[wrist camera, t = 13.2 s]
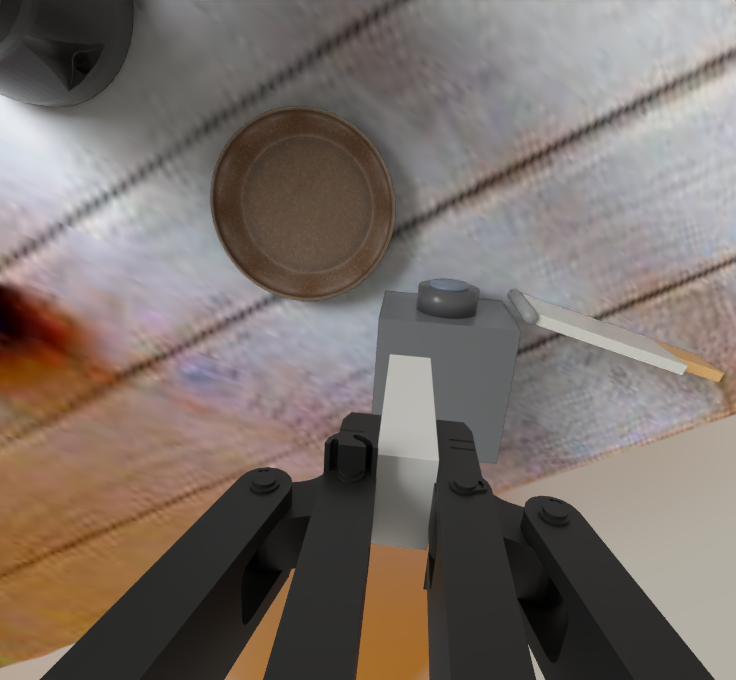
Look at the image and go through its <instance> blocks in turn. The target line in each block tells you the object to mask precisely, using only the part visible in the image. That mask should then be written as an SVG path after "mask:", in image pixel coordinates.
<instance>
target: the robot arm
mask: <svg viewBox="0 0 736 680" xmlns="http://www.w3.org/2000/svg"><path fill="white" fill-rule="evenodd" d="M132 25H133V1H132V0H0V94H1V95H3V96H6V97H8V98H11V99H14V100H17V101H21V102H25V103H31V104H37V105H43V106H51V107H63V106H71V105H75V104H79V103H81V102H84V101H86V100H88V99H90V98H92V97H94V96H95V95H97V94H98V93H100V92H101V91H102V90H103V89H104V88H105V87H106V86H107V85H108V84H109V83H110V82H111V81H112V80H113V78H114V77H115V76H116V74H117V73H118V71H119V69H120V67H121V66H122V63H123V61H124V59H125V56H126V54H127V51H128V47H129V44H130V39H131V34H132ZM428 539H429V552H428V559H427V567H426V574H425V582H424V588H423V589H426V590H427V600H428V636H429V676H430V680H536V677H535V673H534V669H533V665H532V660H531V656H530V651H529V647H530V649H531V651H532V653H533V655H534V657H535V659H536V661H537V663H538V665H539V667H540V669H541V671H542V673H543V675H544V678H545V680H714V678H713V677H712V676H711V674H710V673H709V672H708V671H707V669H706V668H705V667H704V666H703V664H702V663H701V662H700V661H699V660H698V658H697V657H696V656H695V655H694V653H693V652H692V651H691V650H690V648H689V647H688V646H687V645H686V643H685V642H684V641H683V640H682V638H681V637H680V636H679V635H678V633H677V632H676V631H675V630H674V629H673V627H672V626H671V625H670V624H669V622H668V621H667V620H666V619H665V617H664V616H663V615H662V614H661V612H660V611H659V610H658V609H657V608H656V606H655V605H654V604H653V603H652V601H651V600H650V599H649V598H648V596H647V595H646V594H645V593H644V592H643V590H642V589H641V588H640V586H639V585H638V584H637V583H636V582H635V580H634V579H633V578H632V577H631V575H630V574H629V573H628V572H627V571H626V570H625V568H624V567H623V565H622V564H621V563H620V562H619V560H618V559H617V558H616V557H615V556H614V554H613V553H612V552H611V551H610V549H609V548H608V547H607V546H606V544H605V543H604V542H603V541H602V540H601V538H600V537H599V536H598V535H597V533H596V532H595V531H594V530H593V528H592V527H591V526H590V525H589V523H588V522H587V521H586V520H585V518H584V517H583V516H582V515H581V514H580V512H578V511H577V510H576V509H575V508H574V507H573V506H571V505H570V504H568V503H566V502H564V501H563V500H560V499H557V498H553V497H549V496H537V497H532V498H530V499H529V500H528V501H526V503H525V507H521V506H518V505H515V504H512V503H509V502H507V501H504V500H502V499H500V498H498V497H497V496H495V495H494V494H493V493H492V489H491V487H490V485H489V483H488V482H487V481H486V480H484V479H483V478H482V475H481V470H480V466H479V461H478V456H477V452H476V447H475V443H474V438H473V433H472V431H471V430H470V429H469V428H468V427H467V425H466V424H465V423H464V422H456V421H446V420H436V418H435V406H434V394H433V382H432V370H431V358H425V357H414V356H403V355H393V354H390V357H389V365H388V373H387V380H386V388H385V396H384V403H383V411H382V415H375V414H365V413H355V412H351V413H350V414H349V415H348V416H347V417H345V418H344V419H343V421H342V425H341V428H340V432H339V433H337V434H334V435H333V436H331V437H329V438H328V439H327V441H326V442H325V454H324V473H323V475H321V476H319V477H318V478H315V479H312V480H308V481H302V482H293V483H292V480H291V477H290V476H289V475H288V474H287V473H286V472H284V471H282V470H280V469H277V468H269V467H266V468H257V469H254V470H251V471H249V472H247V473H245V474H244V475H243V476H241V477H240V478H239V479H238V480H237V481H236V482H235V483H234V484H233V485H232V486H231V487H230V488H229V489H228V490H227V491H226V492H225V493H224V494H223V495H222V496H221V497H220V498H219V499H218V500H217V501H216V502H215V503H214V504H213V505H212V506H211V507H210V508H209V509H208V510H207V511H206V512H205V513H204V514H203V515H202V516H201V517H200V518H199V519H198V520H197V521H196V522H195V523H194V524H193V525H192V526H191V527H190V528H189V529H188V531H187V532H186V533H185V534H184V535H183V536H182V537H181V538H180V539H179V540H178V541H177V542H176V543H175V544H174V545H173V546H172V547H171V548H170V549H169V550H168V551H167V552H166V553H165V554H164V555H163V556H162V557H161V558H160V559H159V560H158V561H157V562H156V563H155V564H154V565H153V566H152V567H151V568H150V569H149V570H148V571H147V572H146V573H145V574H144V575H143V576H142V577H141V578H140V579H139V580H138V581H137V582H136V583H135V584H134V585H133V586H132V587H131V588H130V589H129V590H128V591H127V592H126V593H125V594H124V595H123V596H122V597H121V598H120V599H119V600H118V601H117V602H116V603H115V604H114V605H113V606H112V607H111V608H110V609H109V610H108V611H107V612H106V613H105V614H104V615H103V616H102V617H101V618H100V619H99V620H98V621H97V622H96V623H95V624H94V625H93V626H92V627H91V628H90V629H89V630H88V631H87V632H86V634H85V635H84V636H83V637H82V638H81V639H80V640H79V641H78V642H77V643H76V644H75V645H74V646H73V647H72V648H71V649H70V650H69V651H68V652H67V653H66V654H65V655H64V656H63V657H62V658H61V659H60V660H59V661H58V662H57V663H56V664H55V665H54V666H53V667H52V668H51V669H50V670H49V671H48V672H47V673H46V674H45V675H44V676H43V677H42V678H41V679H40V680H224V679H225V678H226V676H227V674H228V673H229V671H230V669H231V668H232V666H233V665H234V663H235V662H236V660H237V658H238V657H239V655H240V653H241V652H242V650H243V649H244V647H245V646H246V644H247V642H248V641H249V639H250V637H251V636H252V634H253V633H254V631H255V630H256V628H257V626H258V625H259V623H260V622H261V620H262V618H263V617H264V615H265V614H266V612H267V610H268V609H269V607H270V606H271V604H272V602H273V601H274V599H275V598H276V596H277V594H278V593H279V591H280V590H281V588H282V586H283V585H284V583H285V582H286V580H287V578H288V577H289V574H290V571H291V569H293V568H296V569H295V572H294V575H293V579H292V582H291V586H290V589H289V593H288V596H287V599H286V603H285V607H284V610H283V613H282V617H281V620H280V623H279V627H278V630H277V634H276V637H275V641H274V645H273V648H272V651H271V655H270V658H269V661H268V665H267V668H266V672H265V675H264V678H263V680H356V674H357V665H358V656H359V647H360V637H361V628H362V620H363V611H364V602H365V592H366V584H367V575H368V566H369V556H370V544H379V545H388V546H396V547H404V548H413V549H422V550H427V547H428ZM528 645H529V647H528Z"/></svg>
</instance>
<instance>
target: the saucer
mask: <svg viewBox="0 0 736 680" xmlns="http://www.w3.org/2000/svg"><path fill="white" fill-rule="evenodd" d="M210 202H211V213H212V218H213V223H214V227H215V230H216V233H217V235H218V238H219V240H220V242H221V244H222V246H223V248H224V250H225V252H226V253H227V255H228V256H229V258H230V259H231V261H232V262H233V263H234V265H235V266H236V267H237V268H238V269H239V270H240V271H241V272H242V273H243V274H244V275H245V276H246V277H247V278H248V279H250V280H251V281H252V282H253V283H255V284H256V285H258V286H259V287H261V288H263V289H264V290H266V291H268V292H270V293H273V294H275V295H278V296H281V297H284V298H288V299H293V300H302V301H316V300H322V299H327V298H331V297H335V296H337V295H340V294H343V293H345V292H347V291H349V290H351V289H352V288H354V287H356V286H357V285H358V284H360V283H361V282H362V281H363V280H365V279H366V278H367V277H368V276H369V275H370V274H371V272H372V271H373V270H374V269H375V268H376V267H377V265H378V264H379V262H380V261H381V259H382V258H383V256H384V254H385V252H386V250H387V248H388V245H389V242H390V240H391V237H392V233H393V229H394V223H395V196H394V190H393V185H392V182H391V178H390V175H389V172H388V169H387V167H386V165H385V163H384V161H383V159H382V157H381V155H380V154H379V152H378V150H377V149H376V147H375V146H374V145H373V143H372V142H371V141H370V140H369V139H368V138H367V137H366V136H365V135H364V134H363V133H362V132H361V131H360V130H359V129H358V128H357V127H355V126H354V125H353V124H351V123H350V122H348V121H347V120H345V119H343V118H342V117H340V116H338V115H336V114H333V113H331V112H328V111H326V110H323V109H318V108H314V107H306V106H291V107H283V108H278V109H274V110H271V111H268V112H266V113H263V114H261V115H259V116H257V117H255V118H254V119H252V120H251V121H249V122H248V123H246V124H245V125H244V126H243V127H241V128H240V129H239V130H238V131H237V132H236V133H235V134H234V135H233V136H232V138H231V139H230V140H229V142H228V143H227V144H226V146H225V147H224V149H223V151H222V152H221V154H220V156H219V158H218V161H217V163H216V166H215V169H214V173H213V177H212V182H211V195H210Z"/></svg>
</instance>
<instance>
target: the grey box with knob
mask: <svg viewBox="0 0 736 680" xmlns="http://www.w3.org/2000/svg"><path fill="white" fill-rule="evenodd" d="M479 291H480V290H479V289H478V288H477V287H475V286H473V285H470V284H468V283H466V282H463V281H459V280H453V279H433V280H429V281H423V282H421V283H419V289H418V294H417V293H405V292H394V291H385V295H384V299H383V303H382V307H381V312H380V316H379V325H378V338H377V351H376V365H375V378H374V391H373V405H372V414H375V415H382V411H383V403H384V396H385V388H386V380H387V373H388V365H389V357H390V354H393V355H403V356H414V357H425V358H431V370H432V382H433V394H434V406H435V418H436V420H446V421H456V422H464V423H465V424H466V425H467V427H468V428H469V429H470V430H471V431H472V433H473V438H474V443H475V447H476V452H477V456H478V461H479V462H484V463H493V464H497V459H498V454H499V448H500V443H501V438H502V432H503V427H504V421H505V416H506V410H507V405H508V400H509V394H510V389H511V383H512V378H513V372H514V367H515V362H516V356H517V351H518V345H519V340H520V334H521V330H520V328H519V327H518V325H517V324H516V322H515V320H514V319H513V317H512V316H511V314H510V313H509V311H508V310H507V308H506V306H505V305H504V303H503V302H502V301H500V300H488V299H478V298H479Z"/></svg>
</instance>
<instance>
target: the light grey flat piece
mask: <svg viewBox="0 0 736 680" xmlns="http://www.w3.org/2000/svg"><path fill="white" fill-rule="evenodd" d="M508 298H509V299H510V301H511V302H512V304H513V305H514V307H515V308H516V309H517V311H518V312H519V314H520V315H521V316H522V318H523V319H524V321H525V322H526V323H527V324H529V325H533V324H535V325H538V326H541V327H544V328H546V329H549V330H552V331H555V332H558V333H561V334H564V335H567V336H570V337H572V338H575V339H578V340H581V341H584V342H587V343H590V344H593V345H596V346H599V347H601V348H604V349H607V350H610V351H613V352H616V353H619V354H622V355H625V356H628V357H630V358H633V359H636V360H639V361H642V362H645V363H648V364H651V365H654V366H657V367H659V368H662V369H665V370H668V371H671V372H674V373H677V374H680V375H683V373H684V371H687V372H689V373H692V374H695V375H698V376H701V377H704V378H707V379H710V380H713V381H715V382H719V380H720V379H721V377H722V376H723V374H724V373H723V372H721V371H720V370H718V369H717V368H715V367H714V366H712V365H711V364H709V363H708V362H706V361H705V360H703V359H702V358H700V357H699V356H697V355H696V354H693V353H690V352H688V351H685V350H682V349H679V348H676V347H673V346H670V345H667V344H664V343H662V342H659V341H656V340H653V339H651V338H648V337H645V336H643V335H640V334H637V333H634V332H631V331H628V330H625V329H622V328H620V327H617V326H614V325H611V324H608V323H605V322H602V321H599V320H596V319H594V318H591V317H588V316H585V315H582V314H579V313H576V312H573V311H570V310H568V309H565V308H562V307H559V306H556V305H553V304H550V303H547V302H545V301H542V300H539V299H536V298H533V297H530V296H527V295H524V294H522V295H521V293H520V292H519V291H518V290H516V289H513V290H511V291H509V293H508Z"/></svg>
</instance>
